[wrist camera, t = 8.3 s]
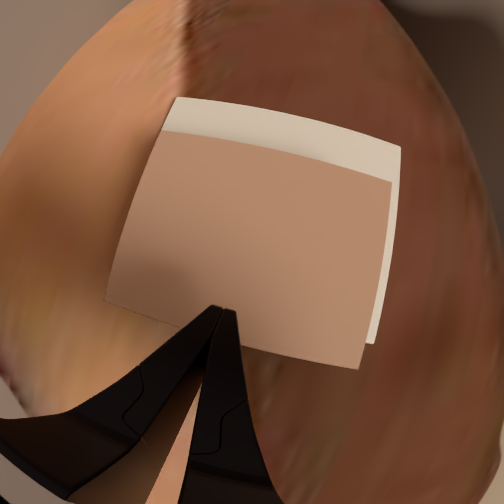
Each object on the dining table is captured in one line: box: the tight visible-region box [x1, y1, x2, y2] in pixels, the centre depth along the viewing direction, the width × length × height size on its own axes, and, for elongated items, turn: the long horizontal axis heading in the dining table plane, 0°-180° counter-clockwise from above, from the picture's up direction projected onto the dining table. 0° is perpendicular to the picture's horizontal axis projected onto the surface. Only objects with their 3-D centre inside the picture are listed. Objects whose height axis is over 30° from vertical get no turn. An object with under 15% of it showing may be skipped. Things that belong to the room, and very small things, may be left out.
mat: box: [161, 97, 401, 344], centre depth 17 cm, size 13×16×1 cm
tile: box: [103, 130, 392, 369], centre depth 15 cm, size 4×12×9 cm
